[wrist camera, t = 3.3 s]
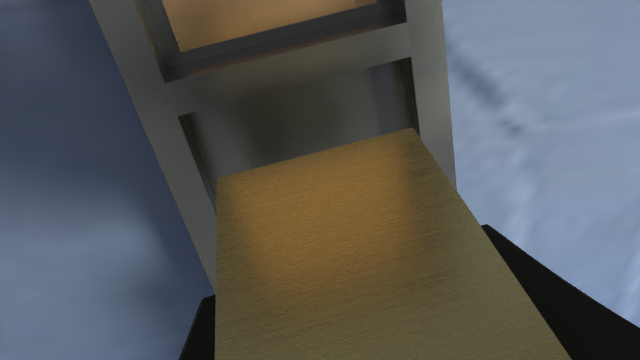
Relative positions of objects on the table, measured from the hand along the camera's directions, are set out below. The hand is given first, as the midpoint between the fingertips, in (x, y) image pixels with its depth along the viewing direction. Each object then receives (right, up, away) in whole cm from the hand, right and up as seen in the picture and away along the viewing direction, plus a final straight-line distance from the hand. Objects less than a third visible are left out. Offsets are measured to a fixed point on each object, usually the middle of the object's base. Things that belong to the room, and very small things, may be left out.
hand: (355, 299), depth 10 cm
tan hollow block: (0, +1, +2) cm, 2 cm away
